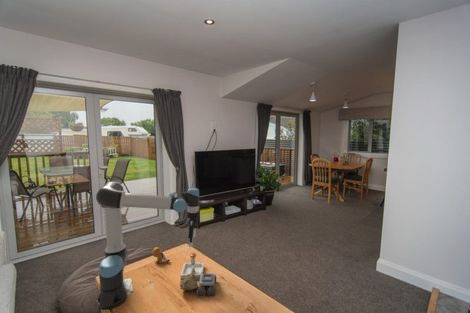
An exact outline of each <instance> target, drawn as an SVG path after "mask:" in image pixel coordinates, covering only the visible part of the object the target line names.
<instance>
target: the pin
mask: <svg viewBox="0 0 470 313" xmlns="http://www.w3.org/2000/svg"><path fill="white" fill-rule="evenodd" d="M189 257H190V263H191V273H192V272H193V273H194V272H195V263H196V258H197V254H196V253H194V252H193V253H191V254H190V256H189Z"/></svg>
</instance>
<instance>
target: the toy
mask: <svg viewBox="0 0 470 313" xmlns="http://www.w3.org/2000/svg"><path fill="white" fill-rule="evenodd" d="M151 252H152V256H153V258H154V257H155V258H156V260H157V263H159V264H161V263H163V260H164V261H165V263H166V264H167V263H169V262H170V261H171V260H170V259H167V256H166V255H165V254H164V253H163V249H161V247H159V246H155V247H153V249H152V251H151Z"/></svg>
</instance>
